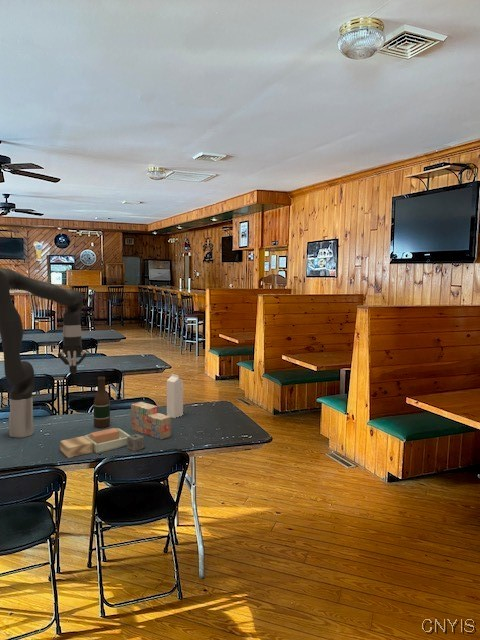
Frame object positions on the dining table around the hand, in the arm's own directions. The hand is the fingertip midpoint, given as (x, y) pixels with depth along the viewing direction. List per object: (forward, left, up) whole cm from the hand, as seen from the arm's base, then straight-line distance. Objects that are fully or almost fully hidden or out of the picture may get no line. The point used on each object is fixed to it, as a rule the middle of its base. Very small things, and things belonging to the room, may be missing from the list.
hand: (73, 373), depth 204 cm
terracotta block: (+10, -14, -26) cm, 31 cm away
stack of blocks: (+34, +2, -29) cm, 45 cm away
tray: (+16, -10, -29) cm, 35 cm away
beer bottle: (+10, +14, -29) cm, 34 cm away
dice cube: (+28, -16, -29) cm, 44 cm away
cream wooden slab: (+4, -17, -29) cm, 34 cm away
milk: (+45, +26, -29) cm, 60 cm away
